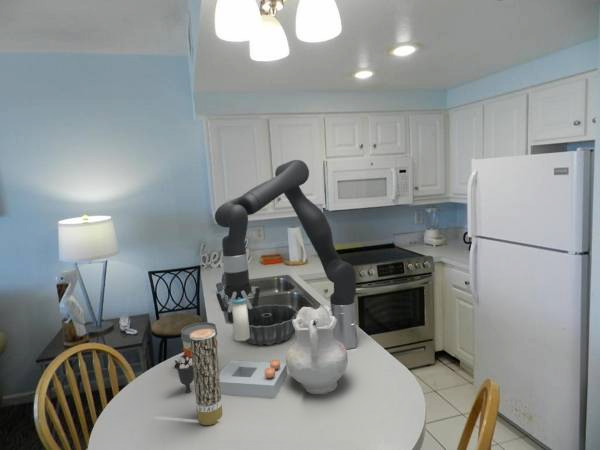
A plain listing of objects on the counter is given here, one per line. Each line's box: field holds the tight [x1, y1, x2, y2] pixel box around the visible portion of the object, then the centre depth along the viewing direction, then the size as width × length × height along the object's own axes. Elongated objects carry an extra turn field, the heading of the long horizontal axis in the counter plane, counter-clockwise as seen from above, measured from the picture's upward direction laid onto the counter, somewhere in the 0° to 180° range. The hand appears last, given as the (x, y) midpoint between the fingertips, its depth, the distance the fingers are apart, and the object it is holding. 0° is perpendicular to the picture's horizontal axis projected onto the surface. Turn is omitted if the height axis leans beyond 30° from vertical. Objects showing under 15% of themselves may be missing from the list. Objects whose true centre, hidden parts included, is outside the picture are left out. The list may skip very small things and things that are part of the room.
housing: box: [219, 360, 288, 399], centre depth 126 cm, size 20×14×5 cm
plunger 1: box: [264, 368, 275, 379], centre depth 121 cm, size 3×3×4 cm
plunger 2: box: [269, 359, 281, 371], centre depth 126 cm, size 3×3×4 cm
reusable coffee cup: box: [180, 321, 218, 355], centre depth 140 cm, size 13×13×15 cm
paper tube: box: [190, 329, 223, 426], centre depth 109 cm, size 7×7×25 cm
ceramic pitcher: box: [285, 304, 349, 395], centre depth 123 cm, size 22×20×25 cm
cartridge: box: [230, 297, 250, 342], centre depth 124 cm, size 6×6×14 cm
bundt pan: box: [244, 303, 299, 346], centre depth 166 cm, size 26×26×10 cm
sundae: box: [173, 348, 194, 394], centre depth 123 cm, size 7×7×15 cm
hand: (240, 321), depth 124 cm, fingers closed on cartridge, 5 cm apart
